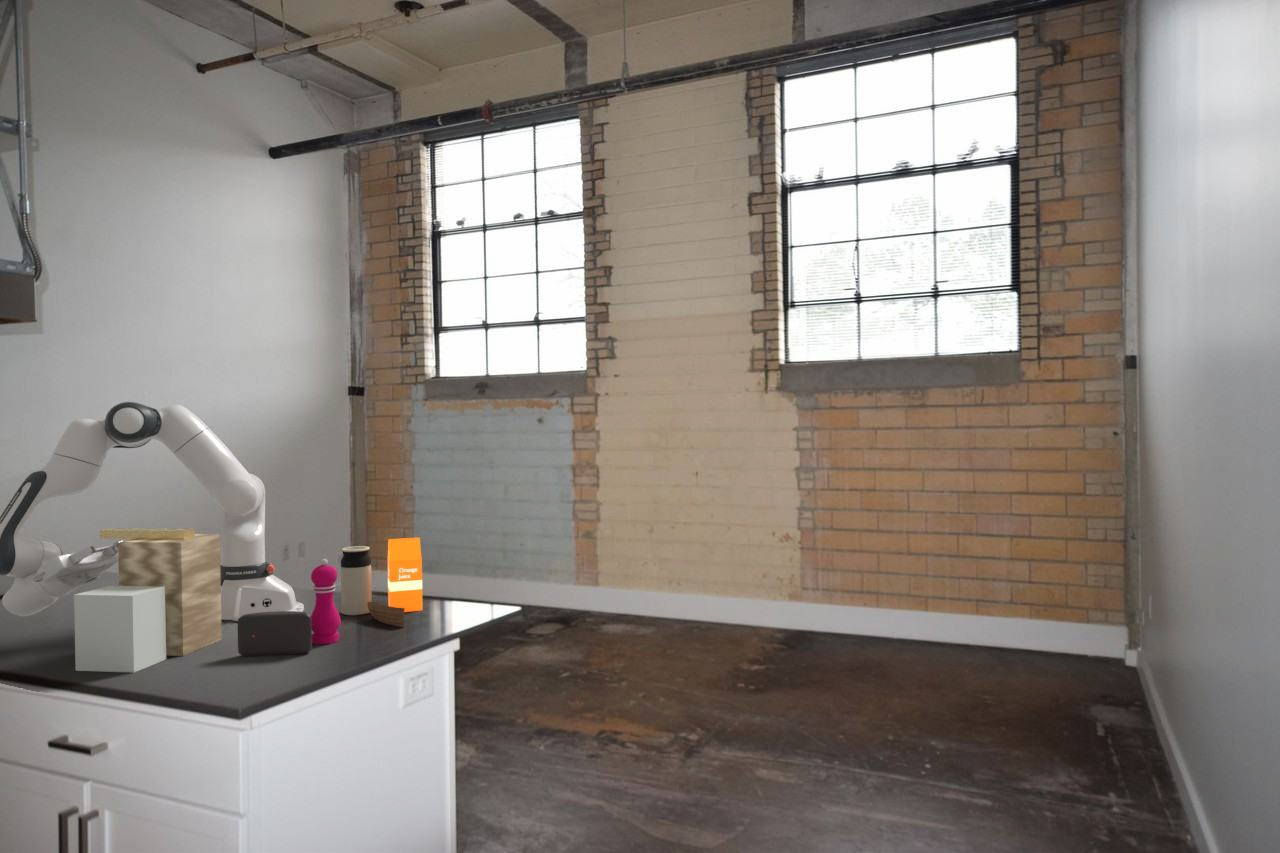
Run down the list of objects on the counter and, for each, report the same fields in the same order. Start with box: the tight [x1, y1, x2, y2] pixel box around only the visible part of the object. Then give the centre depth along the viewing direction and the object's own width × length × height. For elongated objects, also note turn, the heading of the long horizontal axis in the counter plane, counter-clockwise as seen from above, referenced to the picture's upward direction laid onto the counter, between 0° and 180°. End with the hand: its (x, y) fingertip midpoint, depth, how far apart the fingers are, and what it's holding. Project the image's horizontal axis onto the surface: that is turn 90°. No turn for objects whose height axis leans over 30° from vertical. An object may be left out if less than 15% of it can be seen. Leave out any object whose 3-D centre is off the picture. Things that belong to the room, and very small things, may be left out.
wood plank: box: [368, 601, 405, 629], centre depth 224 cm, size 15×2×5 cm, turn 51°
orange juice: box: [387, 537, 423, 613], centre depth 241 cm, size 8×9×20 cm
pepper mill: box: [310, 558, 342, 645], centre depth 207 cm, size 7×7×20 cm
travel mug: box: [340, 545, 373, 616], centre depth 237 cm, size 8×8×18 cm
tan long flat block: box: [99, 527, 196, 540], centre depth 204 cm, size 22×4×2 cm, turn 82°
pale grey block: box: [73, 585, 167, 673], centre depth 189 cm, size 14×10×16 cm
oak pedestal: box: [117, 533, 223, 657], centre depth 203 cm, size 16×14×26 cm
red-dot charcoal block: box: [237, 611, 313, 657], centre depth 197 cm, size 16×5×9 cm, turn 96°
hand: (107, 545), depth 206 cm, fingers open, 8 cm apart
